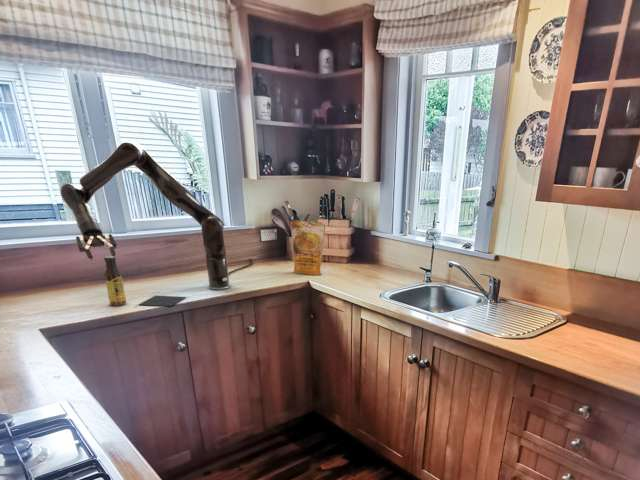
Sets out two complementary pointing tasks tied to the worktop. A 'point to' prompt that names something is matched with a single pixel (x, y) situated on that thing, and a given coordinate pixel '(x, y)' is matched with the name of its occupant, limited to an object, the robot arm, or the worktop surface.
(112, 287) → the sauce bottle
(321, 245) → the pancake mix bag
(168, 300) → the mat
